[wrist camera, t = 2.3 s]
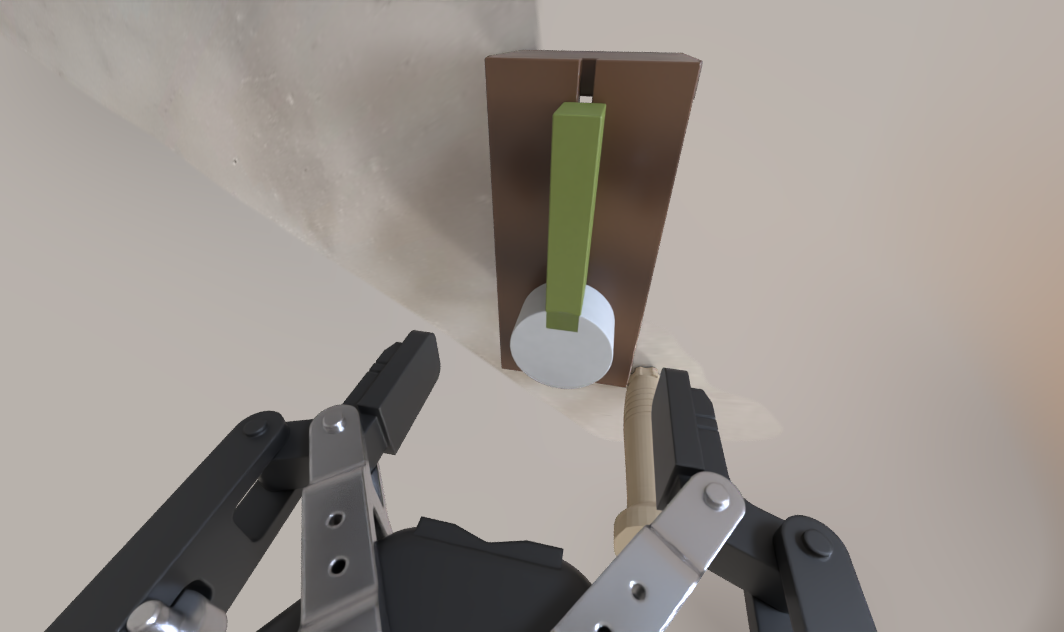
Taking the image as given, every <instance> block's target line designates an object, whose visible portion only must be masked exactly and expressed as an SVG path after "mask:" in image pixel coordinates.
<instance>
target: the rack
mask: <svg viewBox="0 0 1064 632" xmlns="http://www.w3.org/2000/svg"><path fill="white" fill-rule="evenodd" d="M702 63H703V62H702V61H701V60H699V59H696V58H694V57H691V56H689V55H686V54H684V53H658V52H657V53H656V52H604V51H553V50H552V51H551V50H520V51H514V52H508V53H502V54H496V55H490V56H488V57H486V58H485V73H486V92H487V110H488V128H489V146H490V165H491V183H492V201H493V219H494V238H495V256H496V274H497V292H498V311H499V329H500V347H501V365H502V368H503V369H509V370H516V371H522V370H521V369H520V368H519V367H518V365H517V364H516V362H515V361H514V359H513V356H512V353H511V349H510V339H511V335H512V332H513V330H514V327H515V324H516V322H517V319H518V317H519V314H520V311H521V309H522V306H523V304H524V301H525V300H526V298H527V296H528V295H529V294H530V293H531V292H532V291H533V290H534V289H536V288H537V287H539V286H541V285H543V284H545V283H546V278H547V251H548V224H549V196H550V169H551V142H552V115H553V114H554V112H555V111H556V110H557V109H558V108H559V107H560V106H561V105H562V104H563V103H564V102H578V103H580V96H592V103H603V104H606V111H605V120H604V129H603V138H602V147H601V156H600V165H599V174H598V183H597V192H596V201H595V210H594V219H593V228H592V237H591V246H590V255H589V264H588V273H587V282H586V285H588V286H590V287H592V288H594V289H595V290H597V291H598V292H599V293H601V294H602V295H603V296H604V297H605V299H606V300H607V301H608V302H609V304H610V306H611V308H612V310H613V313H614V319H615V326H614V347H613V360H612V364H611V366H610V368H609V370H608V371H607V373H606V374H605V375H604V376H603V377H602V378H601V379H599V380H598V381H597V382H595V383H600V384H606V385H613V386H619V387H627V384H628V380H629V377H630V374H631V370H632V365H633V358H634V354H635V349H636V345H637V341H638V336H639V332H640V328H641V323H642V319H643V315H644V310H645V306H646V302H647V297H648V292H649V289H650V284H651V280H652V276H653V271H654V267H655V263H656V258H657V254H658V250H659V245H660V241H661V236H662V232H663V227H664V223H665V219H666V215H667V211H668V206H669V202H670V198H671V193H672V189H673V185H674V180H675V176H676V172H677V167H678V163H679V158H680V154H681V150H682V146H683V141H684V136H685V133H686V128H687V124H688V120H689V115H690V111H691V107H692V102H693V99H694V98H695V94H696V90H697V85H698V81H699V77H700V72H701V68H702ZM522 372H523V371H522Z"/></svg>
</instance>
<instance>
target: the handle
mask: <svg viewBox="0 0 1064 632" xmlns="http://www.w3.org/2000/svg"><path fill="white" fill-rule="evenodd" d="M659 378H660V375H659V374H658V371H657V369H656V368H653V367H650V368H643V367H638V368H636V369H635V372H634V373H633V374H632V375H630V377H629V380H628V384H627V391H626V397H625V407H624V428H623V430H624V447H625V464H626V483H627V509H625V510H624V511H622V512H621V513H620V514H619V515H618V516H617V517H616V519H615V523H614V552H615V554H616V556H618V554H619V553H620V552H621V551H622V550H623V549H624V548H625V546H626V545H627V544H628V543H629V542H630V541H631V540H632V539H633V537H634V536H635V535H636V534H637V533H638V532H639V531H640V530H641V529H642V528H643V527H644V526H645V525H647V524H648V525H650V524H651V523H652V522H653V521H654V520H655V519H656V517H657V516H658V515H659V514H660V513H661V512H662V511H661V510H657V508H656V491H655V473H654V456H653V439H652V421H651V410H652V402H653V397H654V394H655V391H656V387H657V384H658V381H659Z"/></svg>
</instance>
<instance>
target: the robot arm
mask: <svg viewBox="0 0 1064 632" xmlns="http://www.w3.org/2000/svg"><path fill="white" fill-rule="evenodd" d="M439 373H440V359H439V354H438V348H437V342H436V337H435V335H434V333H430V332H423V331H416V330H413V331H411V332H410V333H409V334H408V336H407V337H406V338H405V340H404V341H403V343H401V342H396V343H395V344H393V345H392V346H390V347H389V348H387V349H386V350H384V352H383V353H382V354H381V355H380V357H379V358H378V359H377V360H376V363H374V364H373V366H372V367H371V368H370V370H369V372H367V373H366V375H365V376H364V377H363V378H362V380H361V381H360V382H359V383H358V385H357V386H356V387H355V389H354V390H353V391H352V392H351V394H350V395H349V396H348V398H347V399H346V400H345V401H344V403H343V404H341V405H335V406H332V407H329V408H327V409H325V410H323V411H322V412H320V413H319V414H318V415H317V416H316V417H315V418H314V419H310V420H300V421H290V422H285V420H284V418H283V417H282V415H281V414H280V413H278V412H275V411H263V412H259V413H256V414H253V415H251V416H249V417H247V418H246V419H244V420H243V421H241V422H240V423H239V424H238V425H237V426H236V427H235V428H234V429H233V430H232V431H231V432H230V433H229V434H228V435H227V436H226V437H225V438H224V440H223V441H222V442H221V443H220V444H219V445H218V446H217V447H216V448H215V449H214V450H213V451H212V452H211V454H209V456H208V457H207V458H206V459H205V460H204V461H203V462H202V463H201V464H200V465H199V466H198V467H197V468H196V470H195V471H194V472H193V473H192V474H191V475H190V476H189V477H188V478H187V479H186V480H185V481H184V482H183V483H182V484H181V486H180V487H179V488H178V489H177V490H176V491H175V492H174V493H173V494H172V495H171V496H170V498H169V499H167V501H166V502H165V503H164V504H163V505H162V506H161V507H160V508H159V509H158V510H157V512H155V513H154V515H153V516H152V517H151V518H150V519H149V520H148V521H147V522H146V523H145V524H144V525H143V526H142V527H141V528H140V530H139V531H138V532H137V533H136V534H135V535H134V536H133V537H132V538H131V539H130V540H129V541H128V542H127V544H126V545H125V546H124V547H123V548H122V549H121V550H120V551H119V552H118V553H117V554H116V555H115V556H114V557H113V558H112V560H111V561H110V562H109V563H108V564H107V565H106V566H105V567H104V568H103V569H102V570H101V571H100V572H99V574H98V575H97V576H96V577H95V578H94V579H93V580H92V581H91V582H90V583H89V584H88V585H87V586H86V587H85V589H84V590H83V591H82V592H81V593H80V594H79V595H78V596H77V597H76V598H75V599H74V601H72V602H71V603H70V605H69V606H68V607H67V608H66V609H65V610H64V611H63V612H62V613H61V614H60V615H59V616H58V617H57V619H56V620H55V621H54V622H53V623H52V624H51V625H50V626H49V627H48V628H47V629H46V630H45V631H44V632H226V630H227V616H226V612H227V611H228V609H229V608H230V606H231V605H232V603H233V601H234V600H235V598H236V597H237V595H238V594H239V592H240V591H241V589H242V588H243V586H244V585H245V583H246V581H247V580H248V578H249V577H250V575H251V574H252V572H253V571H254V569H255V568H256V566H257V565H258V563H259V561H260V560H261V558H262V557H263V555H264V554H265V552H266V551H267V549H268V547H269V546H270V544H271V543H272V541H273V540H274V538H275V537H276V535H277V534H278V532H279V531H280V529H281V527H282V526H283V524H284V523H285V521H286V520H287V518H288V517H289V515H290V514H291V512H292V510H293V509H294V507H295V506H296V504H297V503H298V501H299V500H300V498H301V497H302V538H301V540H302V542H301V545H302V546H301V599H299V600H298V601H297V602H295V603H294V604H293V605H291V606H290V607H289V608H287V609H286V610H285V611H283V612H282V613H281V614H279V615H278V616H276V617H275V618H274V619H272V620H271V621H270V622H268V623H267V624H266V625H264V626H263V627H262V628H260V629H259V630H258V631H256V632H664V631H665V630H666V628H667V627H668V625H669V624H670V622H671V621H672V619H673V618H674V617H675V615H676V614H677V612H678V611H679V609H680V608H681V606H682V604H683V603H684V602H685V600H686V599H687V597H688V596H689V595H690V593H691V591H692V590H693V589H694V587H695V586H696V584H697V583H698V582H699V580H700V579H701V577H702V575H703V574H704V572H705V571H706V570H707V569H708V570H710V571H711V572H713V573H715V574H717V575H718V576H720V577H722V578H724V579H725V580H727V581H729V582H731V583H732V584H734V585H736V586H738V587H739V588H741V589H743V590H744V596H745V602H746V609H747V616H748V622H749V629H750V632H877V630H876V627H875V624H874V621H873V619H872V616H871V613H870V611H869V608H868V605H867V602H866V600H865V597H864V594H863V591H862V589H861V586H860V583H859V581H858V578H857V575H856V572H855V569H854V567H853V564H852V561H851V559H850V556H849V553H848V551H847V549H846V547H845V545H844V544H843V542H842V541H841V540H840V538H839V537H838V536H837V535H836V534H835V533H834V532H833V531H832V530H831V529H830V528H828V527H827V526H825V525H824V524H823V523H821V522H819V521H817V520H816V519H813V518H810V517H807V516H803V515H795V516H791V517H788V518H787V519H786V520H783V519H780V518H778V517H776V516H774V515H772V514H770V513H768V512H766V511H764V510H762V509H760V508H758V507H756V506H754V505H752V504H751V503H750V502H748V501H747V500H746V499H745V498H743V496H742V494H741V492H740V491H739V490H738V488H737V487H736V486H735V485H734V484H733V483H732V482H731V481H730V478H729V475H728V471H727V467H726V462H725V458H724V453H723V449H722V444H721V440H720V435H719V432H718V427H717V422H716V420H715V413H714V409H713V404H712V402H711V401H710V399H709V398H708V396H707V395H706V394H705V392H704V391H703V390H702V389H696V388H691V386H690V381H689V375H688V372H687V371H683V370H676V369H670V368H663V369H662V371H661V374H660V378H659V381H658V384H657V387H656V391H655V394H654V397H653V402H652V410H651V421H652V439H653V456H654V473H655V491H656V508H657V510H661V511H662V512H661V513H660V514H659V515H658V516H657V517H656V519H655V520H654V521H653V522H652V523H651V524H650V525H648V524H647V525H645V526H644V527H643V528H642V529H641V530H640V531H639V532H638V533H637V534H636V535H635V536H634V537H633V539H632V540H631V541H630V542H629V543H628V544H627V545H626V546H625V548H624V549H623V550H622V551H621V552H620V553H619V554H618V556H617V557H616V558H615V559H614V560H613V561H612V562H611V564H610V565H609V566H608V567H607V568H606V569H605V570H604V572H603V573H602V574H601V575H600V576H599V577H598V578H597V580H596V581H595V582H594V583H593V584H591V583H590V582H589V581H588V579H587V578H586V577H585V576H584V575H583V574H582V573H581V572H580V571H579V570H577V569H576V568H575V567H573V566H572V565H571V564H569V563H568V562H566V561H564V560H562V556H563V549H562V548H558V547H553V546H549V545H544V544H540V543H536V542H531V541H509V542H492V543H491V542H486V541H484V540H482V539H480V538H478V537H476V536H475V535H473V534H471V533H469V532H468V531H466V530H464V529H463V528H461V527H459V526H457V525H456V524H452V523H448V522H443V521H439V520H435V519H431V518H426V517H421V518H420V521H419V523H418V525H417V527H412V528H407V529H403V530H400V531H397V532H395V533H393V532H392V528H391V525H390V521H389V518H388V513H387V508H386V502H385V497H384V491H383V485H382V479H381V473H380V467H379V463H378V461H379V459H380V458H381V456H382V454H383V453H387V454H392V455H395V454H396V453H397V451H398V449H399V448H400V446H401V444H402V442H403V440H404V439H405V437H406V435H407V433H408V431H409V430H410V428H411V426H412V424H413V422H414V420H415V419H416V417H417V415H418V414H419V412H420V410H421V408H422V406H423V405H424V403H425V401H426V399H427V398H428V396H429V394H430V392H431V390H432V388H433V387H434V384H435V383H436V381H437V379H438V377H439ZM257 479H258V480H257ZM256 480H257V482H256V483H255V481H256ZM254 483H255V484H254ZM253 484H254V486H253V487H252V488H251V486H252V485H253ZM250 488H251V489H250ZM249 489H250V491H249V492H248V490H249ZM247 492H248V493H247ZM246 493H247V495H246V496H245V497H244V495H245V494H246ZM243 497H244V499H243V500H242V501H241V499H242V498H243ZM240 501H241V502H240ZM239 502H240V504H239V505H238V503H239ZM237 505H238V506H237ZM236 507H237V508H236ZM235 508H236V509H235Z"/></svg>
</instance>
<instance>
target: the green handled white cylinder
mask: <svg viewBox="0 0 1064 632" xmlns="http://www.w3.org/2000/svg"><path fill="white" fill-rule="evenodd" d="M605 111H606V104H603V103H578V102H564V103H563V104H562V105H561V106H560V107H559V108H558V109H557V110H556V111H555V112H554V114H553V115H552V142H551V169H550V196H549V224H548V251H547V278H546V283H545V284H543V285H541V286H539V287H537V288H536V289H534V290H533V291H532V292H531V293H530V294H529V295H528V296H527V298H526V300H525V301H524V304H523V306H522V309H521V311H520V314H519V317H518V319H517V322H516V324H515V327H514V330H513V332H512V335H511V339H510V349H511V353H512V356H513V359H514V361H515V362H516V364H517V365H518V367H519V368H520V369H521V370H522V371H523V372H524V373H525V374H526V375H528V376H529V377H530V378H532V379H534V380H535V381H537V382H539V383H542V384H544V385H547V386H550V387H555V388H562V389H575V388H581V387H585V386H588V385H591V384H593V383H595V382H597V381H598V380H599V379H601V378H602V377H603V376H604V375H605V374H606V373H607V371H608V370H609V368H610V366H611V364H612V360H613V347H614V326H615V319H614V313H613V310H612V308H611V306H610V304H609V302H608V301H607V300H606V299H605V297H604V296H603V295H602V294H601V293H599V292H598V291H597V290H595V289H594V288H592V287H590V286H588V285H586V282H587V273H588V264H589V255H590V246H591V237H592V228H593V219H594V210H595V201H596V192H597V183H598V174H599V165H600V156H601V147H602V138H603V129H604V120H605Z"/></svg>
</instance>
